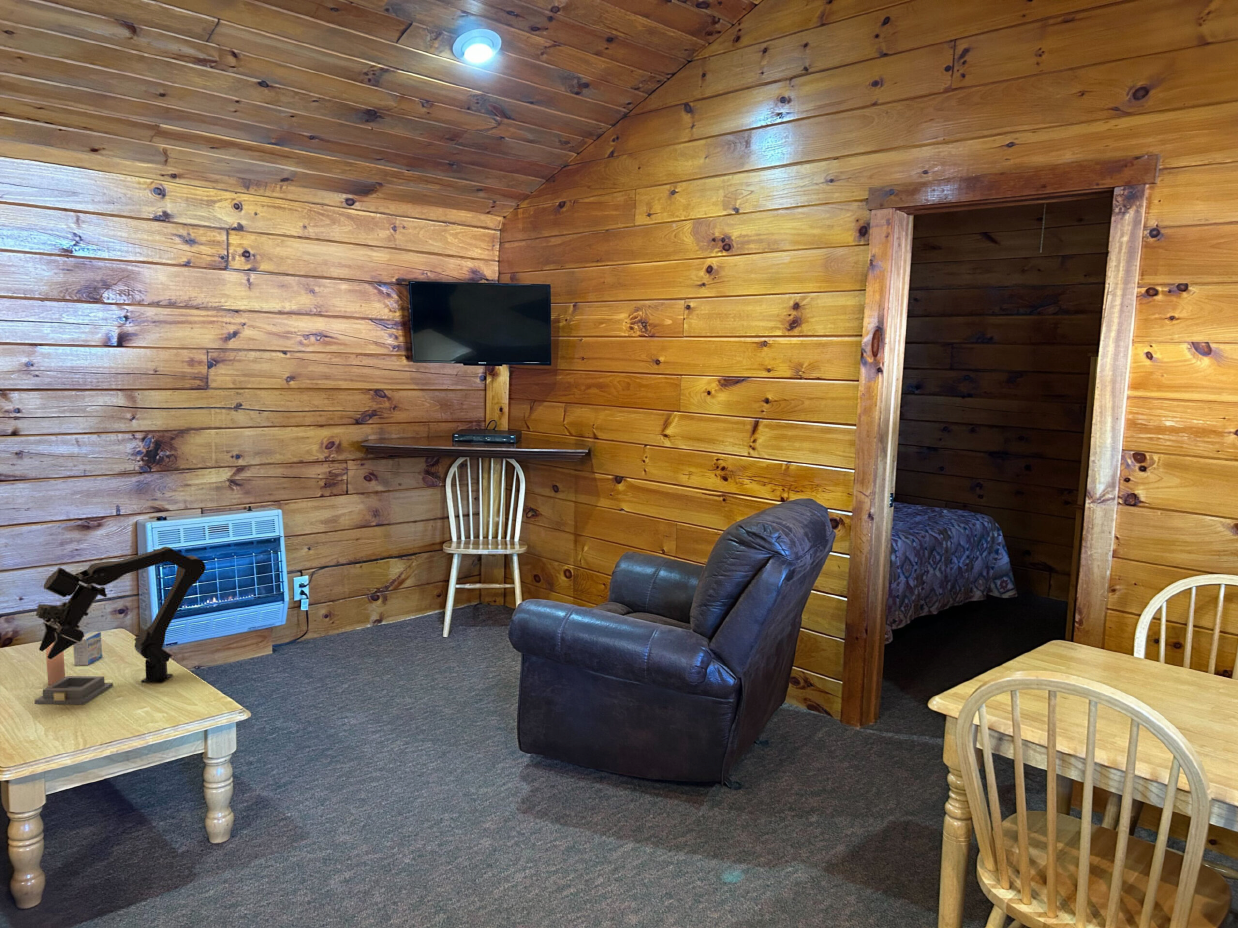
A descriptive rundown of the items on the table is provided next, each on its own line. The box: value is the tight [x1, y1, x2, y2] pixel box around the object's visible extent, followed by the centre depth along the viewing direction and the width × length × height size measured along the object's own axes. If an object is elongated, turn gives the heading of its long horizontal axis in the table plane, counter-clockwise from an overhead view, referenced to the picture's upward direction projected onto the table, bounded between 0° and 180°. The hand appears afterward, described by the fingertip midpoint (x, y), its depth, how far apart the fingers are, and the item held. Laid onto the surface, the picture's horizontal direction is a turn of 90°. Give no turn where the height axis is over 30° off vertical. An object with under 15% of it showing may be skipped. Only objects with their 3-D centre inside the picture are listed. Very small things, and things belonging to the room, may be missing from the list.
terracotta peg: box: [45, 643, 66, 686], centre depth 264 cm, size 4×4×12 cm
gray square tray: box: [33, 675, 114, 705], centre depth 256 cm, size 14×14×4 cm
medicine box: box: [72, 631, 103, 666], centre depth 284 cm, size 8×4×9 cm, turn 179°
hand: (44, 654), depth 248 cm, fingers open, 9 cm apart
